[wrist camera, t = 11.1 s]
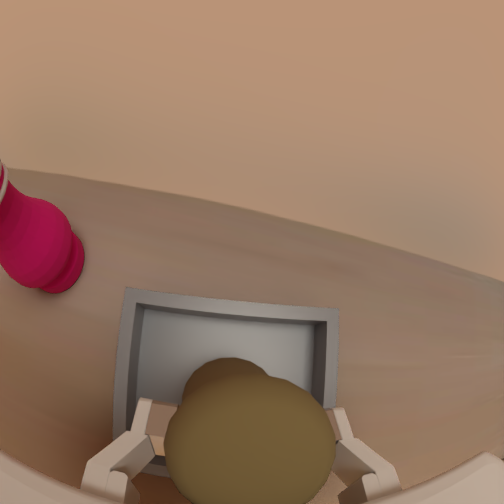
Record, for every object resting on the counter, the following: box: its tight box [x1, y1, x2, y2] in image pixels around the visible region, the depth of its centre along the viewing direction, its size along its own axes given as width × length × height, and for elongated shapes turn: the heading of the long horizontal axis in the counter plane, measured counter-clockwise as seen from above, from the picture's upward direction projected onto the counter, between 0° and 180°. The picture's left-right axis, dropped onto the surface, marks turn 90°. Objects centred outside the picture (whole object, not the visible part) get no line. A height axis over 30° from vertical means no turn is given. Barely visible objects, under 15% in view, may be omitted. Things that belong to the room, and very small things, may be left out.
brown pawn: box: [163, 357, 336, 504], centre depth 10 cm, size 6×6×11 cm
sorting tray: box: [113, 287, 339, 478], centre depth 19 cm, size 16×14×4 cm
